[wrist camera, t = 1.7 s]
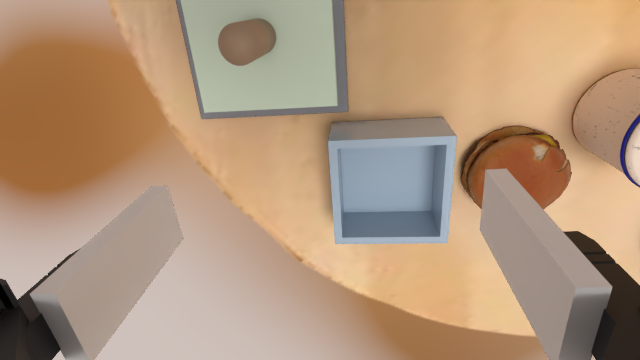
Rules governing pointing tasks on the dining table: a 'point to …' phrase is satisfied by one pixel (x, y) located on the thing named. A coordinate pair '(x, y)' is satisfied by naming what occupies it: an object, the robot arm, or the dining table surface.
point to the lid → (262, 53)
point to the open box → (391, 180)
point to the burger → (519, 163)
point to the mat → (342, 107)
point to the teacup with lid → (612, 121)
